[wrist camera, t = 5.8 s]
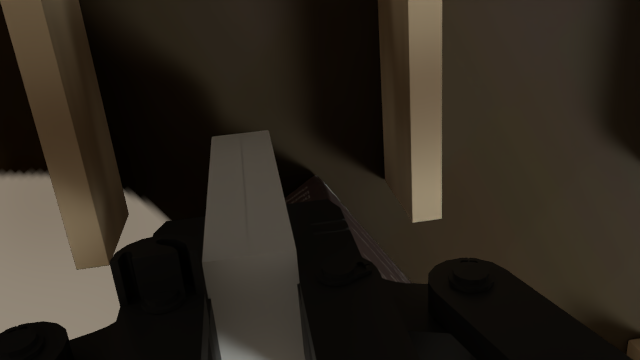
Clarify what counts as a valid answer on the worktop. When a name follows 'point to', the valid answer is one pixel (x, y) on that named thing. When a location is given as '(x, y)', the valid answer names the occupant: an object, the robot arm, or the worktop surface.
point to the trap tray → (96, 146)
